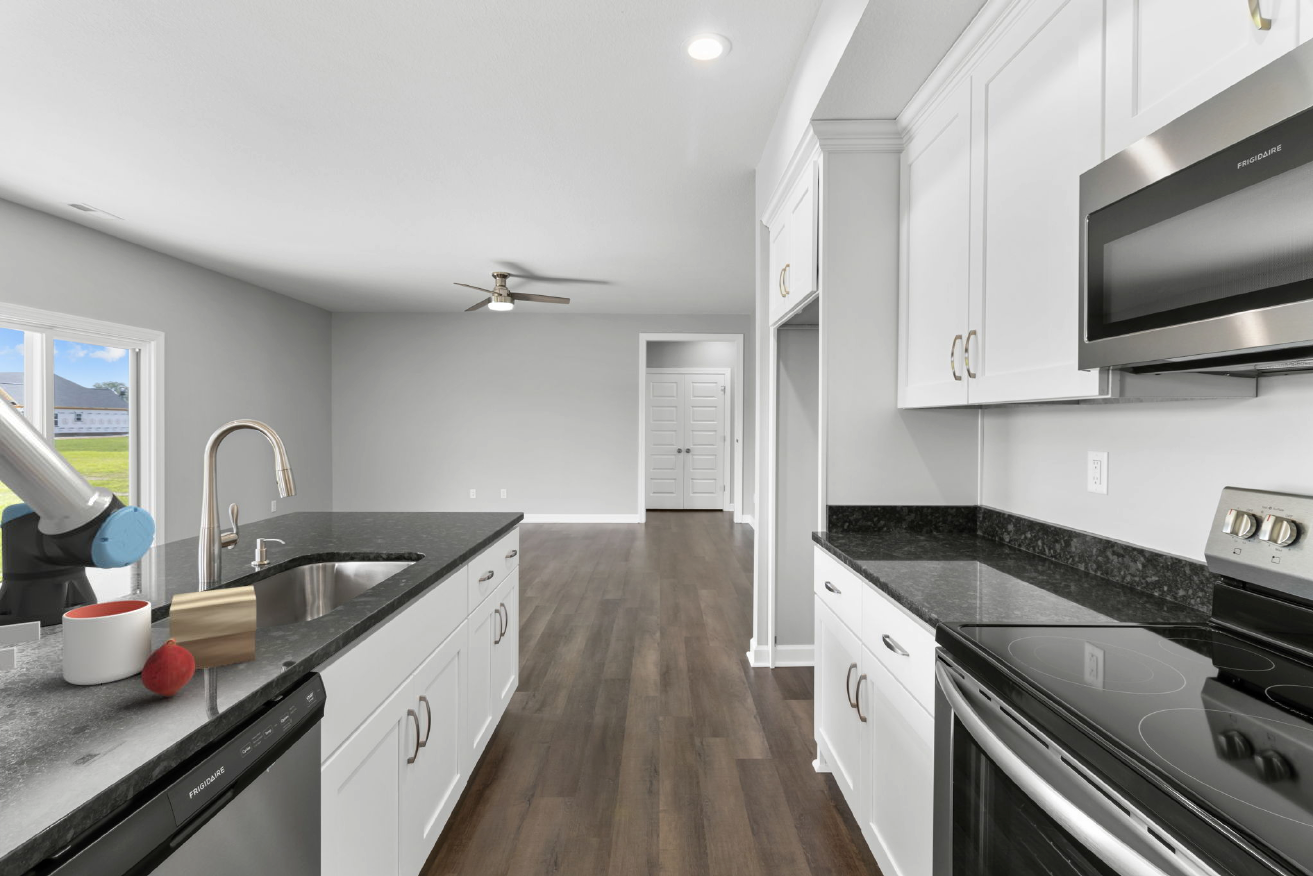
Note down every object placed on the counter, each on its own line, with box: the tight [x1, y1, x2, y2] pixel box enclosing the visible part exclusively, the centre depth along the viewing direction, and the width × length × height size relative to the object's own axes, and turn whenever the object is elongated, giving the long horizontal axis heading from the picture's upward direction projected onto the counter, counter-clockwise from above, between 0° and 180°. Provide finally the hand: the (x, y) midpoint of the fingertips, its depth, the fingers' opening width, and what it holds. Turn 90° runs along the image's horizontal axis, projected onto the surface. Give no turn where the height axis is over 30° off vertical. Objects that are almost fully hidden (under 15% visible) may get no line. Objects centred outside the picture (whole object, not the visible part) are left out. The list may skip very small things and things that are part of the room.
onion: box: [140, 638, 196, 698], centre depth 86 cm, size 6×6×8 cm
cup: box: [61, 599, 152, 686], centre depth 94 cm, size 10×10×10 cm
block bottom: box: [168, 631, 256, 670], centre depth 101 cm, size 11×11×5 cm
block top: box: [169, 585, 257, 643], centre depth 101 cm, size 11×11×5 cm
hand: (28, 643), depth 88 cm, fingers open, 13 cm apart
